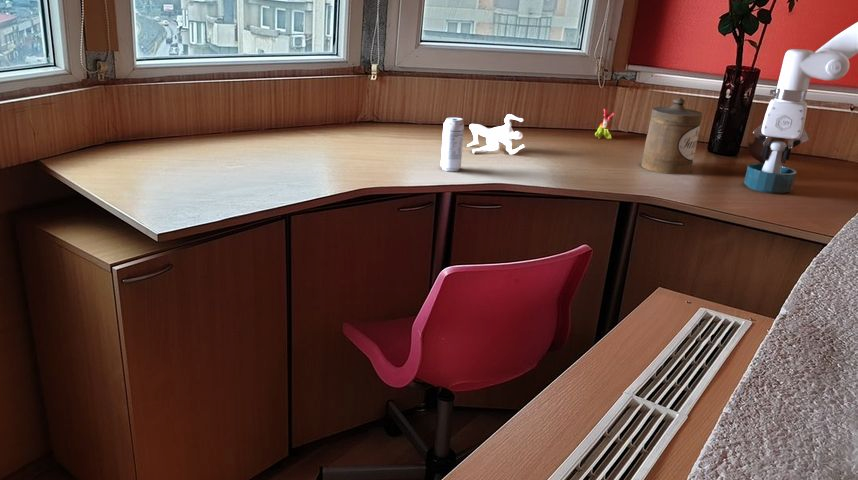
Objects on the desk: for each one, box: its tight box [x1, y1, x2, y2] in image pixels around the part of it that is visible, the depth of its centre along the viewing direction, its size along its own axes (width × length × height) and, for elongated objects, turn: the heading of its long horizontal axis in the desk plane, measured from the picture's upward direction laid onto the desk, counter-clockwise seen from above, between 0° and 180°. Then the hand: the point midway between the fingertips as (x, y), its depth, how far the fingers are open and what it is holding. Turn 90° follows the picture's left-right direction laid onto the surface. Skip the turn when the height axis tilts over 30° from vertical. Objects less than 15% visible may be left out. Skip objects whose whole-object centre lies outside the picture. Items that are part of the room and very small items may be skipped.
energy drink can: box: [440, 116, 465, 172], centre depth 211 cm, size 6×6×15 cm
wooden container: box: [640, 97, 703, 175], centre depth 222 cm, size 15×15×22 cm
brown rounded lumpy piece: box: [747, 133, 787, 164], centre depth 220 cm, size 11×11×15 cm
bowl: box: [743, 162, 797, 195], centre depth 207 cm, size 13×13×6 cm
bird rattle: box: [594, 108, 616, 140], centre depth 264 cm, size 6×11×9 cm
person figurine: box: [466, 113, 526, 156], centre depth 237 cm, size 13×13×18 cm
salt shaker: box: [761, 141, 787, 174], centre depth 205 cm, size 6×6×13 cm
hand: (774, 160), depth 205 cm, fingers closed on salt shaker, 4 cm apart
